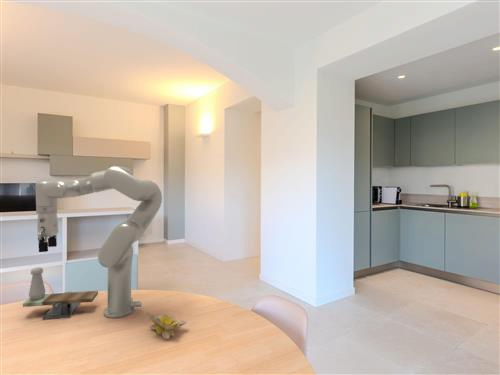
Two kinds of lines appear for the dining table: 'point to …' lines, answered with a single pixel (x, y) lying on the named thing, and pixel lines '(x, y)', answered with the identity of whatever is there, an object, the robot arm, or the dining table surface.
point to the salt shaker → (37, 284)
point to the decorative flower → (165, 324)
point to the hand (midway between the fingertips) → (48, 249)
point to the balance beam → (63, 298)
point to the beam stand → (61, 310)
